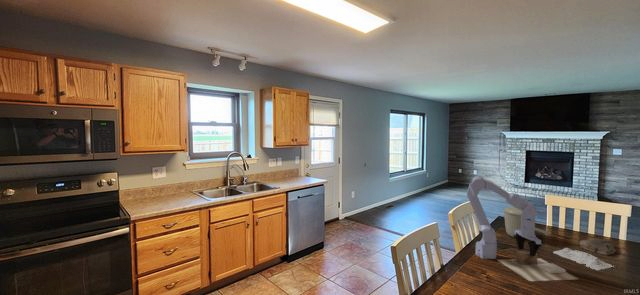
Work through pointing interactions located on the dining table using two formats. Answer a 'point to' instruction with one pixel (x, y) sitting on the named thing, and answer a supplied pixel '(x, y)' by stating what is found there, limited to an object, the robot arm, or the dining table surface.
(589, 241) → the clay tablet
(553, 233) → the cleaver
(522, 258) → the brown rectangular block
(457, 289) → the dining table surface
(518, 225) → the canister
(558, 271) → the tile
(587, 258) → the terrain model
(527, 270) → the board
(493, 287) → the dining table surface
